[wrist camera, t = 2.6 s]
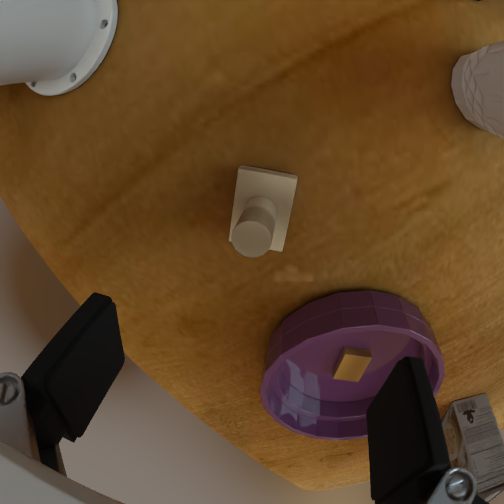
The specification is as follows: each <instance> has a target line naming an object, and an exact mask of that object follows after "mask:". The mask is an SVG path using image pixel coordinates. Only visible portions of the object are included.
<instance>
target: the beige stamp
mask: <svg viewBox="0 0 504 504" xmlns="http://www.w3.org/2000/svg"><path fill="white" fill-rule="evenodd" d="M297 178H298V176H297V175H293V174H290V173H285V172H280V171H275V170H270V169H264V168H259V167H253V166H243V165H241V166H240V167H239V168H238V173H237V180H236V188H235V195H234V203H233V210H232V218H231V226H230V233H229V241H230V242H232V244H233V246H234V248H235V249H236V250H237V251H238V252H239V253H240V254H242V255H244V256H246V257H259V256H262V255H263V254H265V253H266V252H267V251H268V250H274V251H279V252H282V251H283V247H284V242H285V237H286V233H287V228H288V223H289V218H290V214H291V209H292V204H293V199H294V194H295V189H296V184H297Z"/></svg>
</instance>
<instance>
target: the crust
mask: <svg viewBox="0 0 504 504" xmlns="http://www.w3.org/2000/svg"><path fill="white" fill-rule="evenodd" d="M371 359H372V355H371V350H367V349H360V348H353V347H347V346H344V348H343V350H342V352H341V355H340V357H339V359H338V361H337V363H336V365H335V367H334V369H333V379H338V380H346V381H354V382H358V381H359V380H360V378H361V376H362V375H363V373H364V371H365V370H366V368H367V366H368V364H369V362H370V361H371Z"/></svg>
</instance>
